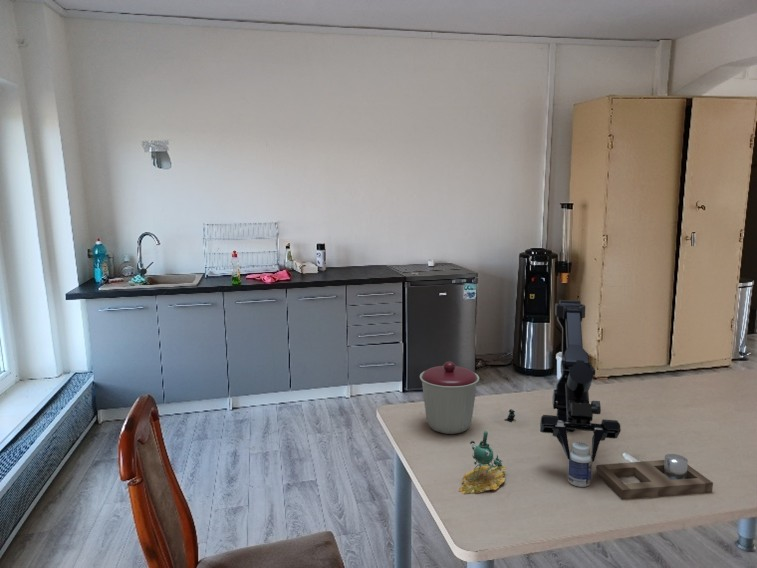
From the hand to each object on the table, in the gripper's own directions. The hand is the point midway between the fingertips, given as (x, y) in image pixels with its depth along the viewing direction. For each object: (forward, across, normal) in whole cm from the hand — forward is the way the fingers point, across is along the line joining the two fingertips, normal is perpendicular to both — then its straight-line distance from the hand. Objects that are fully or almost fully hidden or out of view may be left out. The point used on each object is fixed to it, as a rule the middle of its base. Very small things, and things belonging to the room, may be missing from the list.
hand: (581, 460), depth 132 cm
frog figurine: (+7, -23, +3) cm, 24 cm away
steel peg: (0, +23, +9) cm, 25 cm away
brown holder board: (+1, +18, +8) cm, 19 cm away
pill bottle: (+4, 0, +6) cm, 7 cm away
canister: (-14, -35, +24) cm, 45 cm away
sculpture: (-21, -16, +31) cm, 41 cm away
